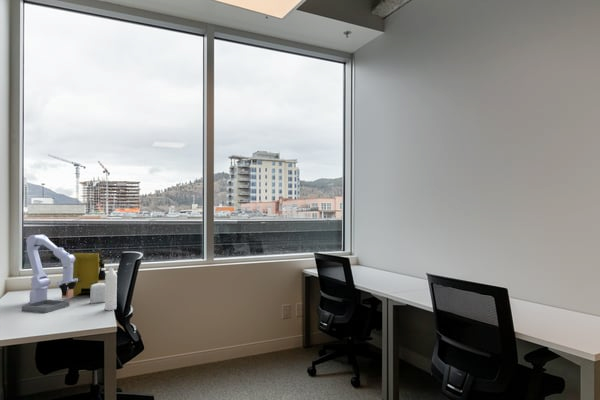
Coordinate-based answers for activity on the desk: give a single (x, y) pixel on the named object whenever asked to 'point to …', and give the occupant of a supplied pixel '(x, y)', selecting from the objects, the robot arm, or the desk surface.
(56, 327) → the desk surface
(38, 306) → the bin
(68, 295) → the terracotta block
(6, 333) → the desk surface
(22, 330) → the desk surface
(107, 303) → the white spray bottle
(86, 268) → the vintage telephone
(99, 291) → the photo printer
